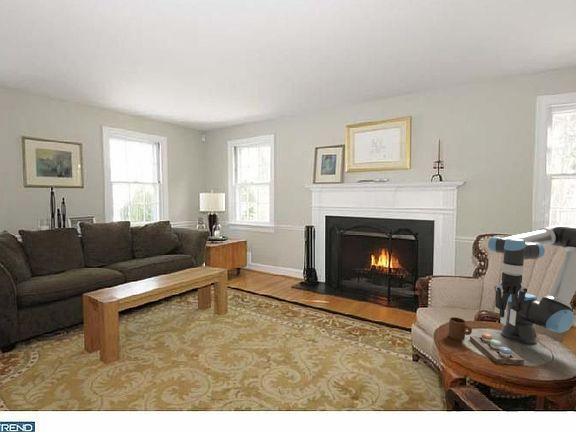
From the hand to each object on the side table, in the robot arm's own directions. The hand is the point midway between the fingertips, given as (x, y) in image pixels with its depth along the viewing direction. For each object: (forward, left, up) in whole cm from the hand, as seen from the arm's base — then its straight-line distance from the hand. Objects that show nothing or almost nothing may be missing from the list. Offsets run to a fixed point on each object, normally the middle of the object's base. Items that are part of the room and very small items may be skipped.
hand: (507, 323), depth 146 cm
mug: (+11, -18, -17) cm, 27 cm away
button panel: (0, -7, -17) cm, 18 cm away
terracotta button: (0, -14, -15) cm, 20 cm away
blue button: (0, 0, -15) cm, 15 cm away
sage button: (0, -7, -15) cm, 16 cm away
